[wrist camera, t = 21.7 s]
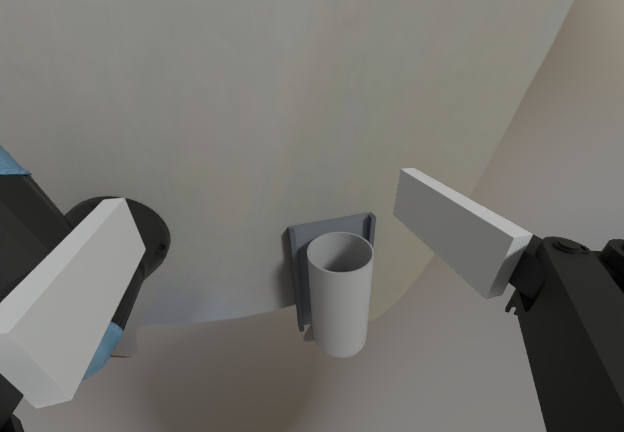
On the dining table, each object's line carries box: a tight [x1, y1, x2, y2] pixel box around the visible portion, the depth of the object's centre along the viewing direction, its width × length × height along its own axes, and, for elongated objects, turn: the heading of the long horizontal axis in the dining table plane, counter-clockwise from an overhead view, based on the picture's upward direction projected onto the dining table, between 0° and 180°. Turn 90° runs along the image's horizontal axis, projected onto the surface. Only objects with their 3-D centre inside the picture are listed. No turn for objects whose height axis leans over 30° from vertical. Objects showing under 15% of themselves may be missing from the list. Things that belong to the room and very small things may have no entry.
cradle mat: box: [288, 212, 376, 332], centre depth 59 cm, size 30×18×2 cm, turn 3°
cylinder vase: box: [307, 232, 374, 358], centre depth 55 cm, size 12×12×25 cm
